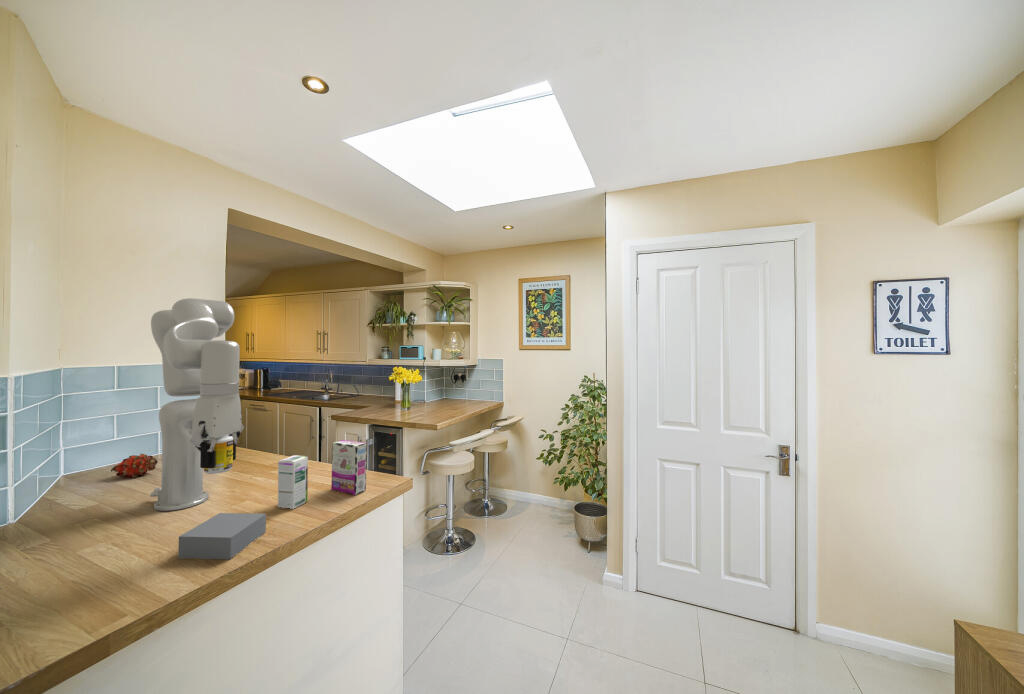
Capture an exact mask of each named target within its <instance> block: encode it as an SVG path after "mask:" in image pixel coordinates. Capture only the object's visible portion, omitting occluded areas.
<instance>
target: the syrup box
mask: <svg viewBox="0 0 1024 694" xmlns="http://www.w3.org/2000/svg"><path fill="white" fill-rule="evenodd" d="M277 465H278V466H277V473H278V474H277V507H278V508H280V507H281V508H280V509H285V508H290V509H289V510H295V509H296V508H298V507H300V506H302V505H303V504H305V502H306V503H307V502H308V498H309V497H308V495H309V493H308V490H309V489H308V488H309V487H308V479H309V476H308V475H309V472H308V471H309V466H308V465H309V457H308V456H306V455H301V454H299V455H296V454H295V455H291V456H289V457H286V458H283V459H280V460H278V462H277ZM294 508H295V509H294Z"/></svg>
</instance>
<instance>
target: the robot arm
mask: <svg viewBox="0 0 1024 694" xmlns="http://www.w3.org/2000/svg"><path fill="white" fill-rule="evenodd" d="M234 321H235V311H234V309H233V306H231V304H230V303H228V302H226V301H224V300H223V301H221V300H214V299H204V298H182V299H179V300H177V301H175V303H174V304H173V305H172V307H171V309H163V310H162V309H161V310H158V311H156V312H154V313H153V314H152V316H151V320H150V329H151V334H152V337H153V339H154V341H155V343H156V346H157V347H158V349H159V350H160V353H161V358H162V360H161V362H162V375H163V376H162V377H163V379H162V380H163V387H164V392H165V393H166V395H168V396H169V397H170V396H171V397H180V398H181V397H194V396H195V397H196V396H199V397H197V398H191V399H180V400H173V401H170V402H167V403H165V404H164V405H162V406H161V407H160V409H159V410H158V411H159V412H158V420H159V426H160V427H159V428H160V430H161V431H160V432H161V441H162V444H161V487H155V488H154V490H153V491H152V492H150V494H149V496H150V497H152V498H153V497H154V498H155V497H157V501H155V502H154V503H153V509H155V510H156V511H160V512H169V511H177V510H183V509H187V508H190V507H191V508H192V507H193V506H197V505H199V504H202V503H203V502H205V501H207V500H208V499H209V497H210V495H209V492H208V491H204V490H203V489H204V488H203V487H204V486H203V484H204V468H214V467H215V466H216V451H213V450H214V446H215V443H216V439H217V438H220V437H223V436H225V435H228V434H229V435H228V436H232V437H233V461H235V460H236V458H237V444H238V443H239V438H240V436H241V433H242V432H243V430H244V429H245V426H244V424H243V423H242V403H241V398H240V397H241V396H240V358H241V357H240V351H241V350H240V344H239V343H238V342H236V341H233V340H226V339H225V340H223V339H222V340H220V339H219V340H218V339H217V338H219V337H221V336H223V335H224V334H225V333H226V332H227V331H229V329H230V328H231V327H232V326H233V324H234ZM207 441H210V442H209V445H208V444H207V443H206V442H207Z"/></svg>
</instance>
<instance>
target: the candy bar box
mask: <svg viewBox="0 0 1024 694" xmlns="http://www.w3.org/2000/svg"><path fill="white" fill-rule="evenodd" d="M367 446H368V443H367V442H362V441H361V442H360V441H355V440H346V439H342V440H337V441H334V442H332V446H331V447H332V448H331V449H332V450H331V451H332V452H331V457H332V458H331V486H330V487H331V491H333V490H335V491H334V492H338V491H339V493H342V492H343V494H348V495H351V496H352V495H353V496H357V495H359V494H362V493H365V491H367V490H366V489H367V457H368V456H367V453H368V452H367V450H368V448H367Z"/></svg>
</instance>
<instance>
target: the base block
mask: <svg viewBox="0 0 1024 694" xmlns="http://www.w3.org/2000/svg"><path fill="white" fill-rule="evenodd" d="M266 527H267V513H247V512H245V513H243V512H242V513H241V512H220V513H218V514H216V515H214V516H212V517H210V518H209V519H207V520H205V521H204V522H201V523H200V524H198V525H196V526H195V527H193V528H191V529H189V530H187V531H186V532H184V533H182V534H181V535H179V536H178V548H177V549H178V552H177V553H178V555H177V556H178V557H177V558H178V559H189V558H190V559H191V558H197V559H199V560H200V559H202V560H232V559H233V558H234V557H236V556H237V555H238V554H240V553H241V552H243V551H244V550H245V549H246V548H247V547H246V546H248V545H249V544H250V543H251V542H253V541H254V540H255V539H257V538H258V537H259V538H261V537H262V536H263V535H265V534H266V533H265V532H266ZM264 533H265V534H264ZM262 534H263V535H262ZM261 535H262V536H261ZM260 536H261V537H260ZM259 538H258V539H259ZM258 539H257V540H258ZM255 541H256V540H255ZM255 541H254V542H255ZM254 542H253V543H254ZM250 545H251V544H250ZM250 545H249V546H250ZM249 546H248V547H249ZM245 547H246V548H245ZM244 548H245V549H244ZM243 549H244V550H243ZM240 551H241V552H240ZM239 552H240V553H239ZM237 553H238V554H237ZM236 554H237V555H236ZM235 555H236V556H235ZM233 556H234V557H233ZM232 557H233V558H232ZM231 558H232V559H231ZM190 559H189V560H190Z"/></svg>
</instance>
